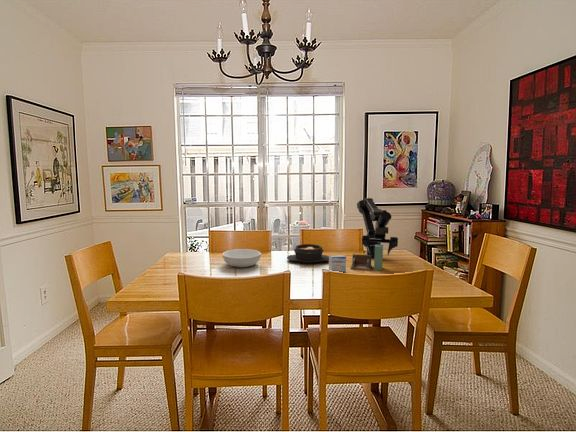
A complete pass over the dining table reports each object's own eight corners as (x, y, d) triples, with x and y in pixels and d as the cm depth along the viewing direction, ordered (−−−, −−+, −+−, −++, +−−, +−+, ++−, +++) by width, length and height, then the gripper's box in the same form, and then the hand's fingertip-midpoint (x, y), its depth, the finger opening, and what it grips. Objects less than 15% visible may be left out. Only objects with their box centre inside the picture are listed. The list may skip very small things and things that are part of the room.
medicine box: (331, 273, 180) (331, 257, 179) (328, 271, 184) (328, 255, 183) (346, 273, 182) (346, 256, 180) (342, 270, 186) (343, 254, 185)
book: (374, 267, 192) (375, 244, 191) (382, 267, 191) (383, 244, 190) (374, 269, 188) (374, 246, 186) (381, 270, 187) (382, 246, 185)
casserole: (286, 265, 196) (286, 250, 195) (287, 256, 215) (287, 243, 214) (331, 265, 196) (332, 250, 195) (328, 257, 214) (329, 243, 213)
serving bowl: (224, 272, 183) (224, 259, 182) (221, 261, 203) (220, 249, 202) (264, 269, 189) (264, 256, 188) (257, 259, 209) (257, 247, 208)
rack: (352, 264, 198) (352, 253, 197) (371, 265, 195) (371, 254, 195) (350, 269, 189) (350, 257, 188) (369, 270, 186) (370, 259, 185)
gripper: (362, 220, 194) (360, 244, 185) (398, 222, 189) (397, 247, 180) (363, 232, 203) (361, 256, 193) (397, 234, 197) (397, 258, 188)
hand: (378, 254), depth 188 cm, fingers open, 9 cm apart
